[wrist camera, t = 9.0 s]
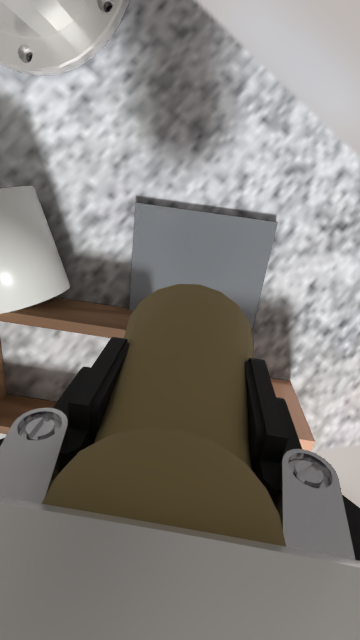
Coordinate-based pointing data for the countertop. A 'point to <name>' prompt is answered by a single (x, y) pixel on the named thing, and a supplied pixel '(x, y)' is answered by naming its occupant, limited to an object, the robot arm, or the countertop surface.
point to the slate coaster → (200, 253)
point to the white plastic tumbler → (27, 252)
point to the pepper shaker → (177, 425)
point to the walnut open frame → (65, 317)
